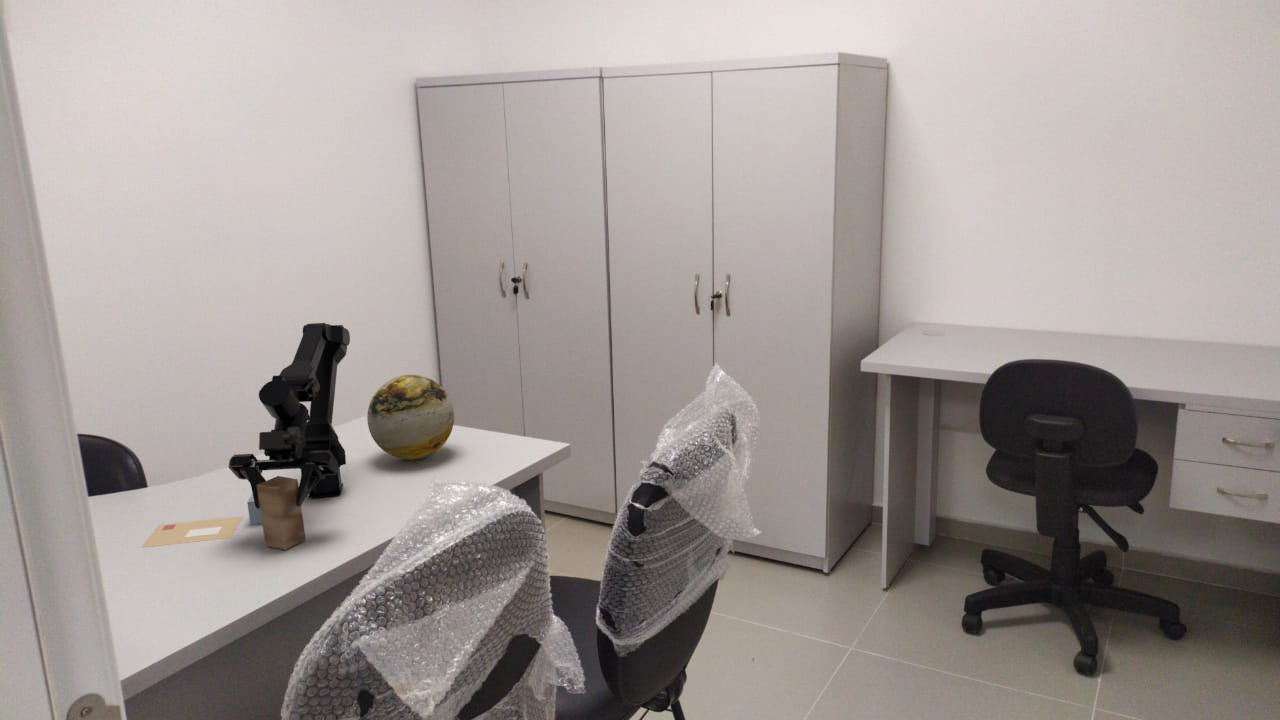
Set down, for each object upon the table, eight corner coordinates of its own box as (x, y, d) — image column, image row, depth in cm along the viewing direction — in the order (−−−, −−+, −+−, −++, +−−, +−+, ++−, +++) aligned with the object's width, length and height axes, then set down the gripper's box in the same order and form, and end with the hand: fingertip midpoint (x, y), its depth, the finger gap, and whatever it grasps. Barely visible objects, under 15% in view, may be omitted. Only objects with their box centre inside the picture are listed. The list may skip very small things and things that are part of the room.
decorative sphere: (356, 470, 211) (346, 386, 207) (396, 442, 230) (388, 365, 226) (436, 473, 207) (427, 387, 202) (470, 445, 226) (463, 366, 221)
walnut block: (286, 535, 176) (277, 475, 173) (305, 539, 174) (297, 479, 171) (265, 545, 171) (256, 485, 169) (285, 549, 169) (276, 488, 166)
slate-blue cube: (281, 513, 188) (278, 490, 187) (277, 523, 183) (274, 499, 182) (256, 516, 187) (252, 493, 186) (250, 525, 182) (247, 502, 181)
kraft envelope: (243, 516, 187) (243, 515, 187) (230, 538, 176) (230, 537, 176) (158, 525, 184) (158, 524, 184) (140, 548, 173) (140, 547, 173)
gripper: (224, 414, 170) (208, 492, 162) (326, 409, 171) (315, 486, 163) (246, 440, 180) (232, 515, 172) (342, 436, 180) (333, 510, 172)
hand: (277, 506), depth 169 cm, fingers open, 7 cm apart
